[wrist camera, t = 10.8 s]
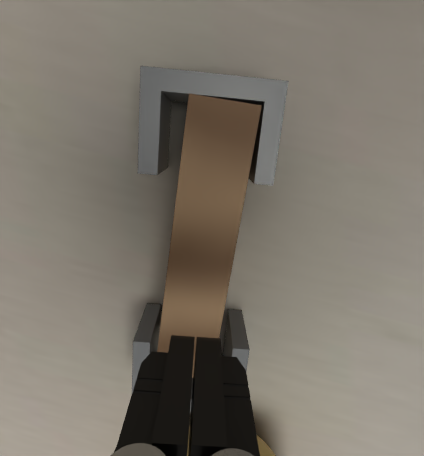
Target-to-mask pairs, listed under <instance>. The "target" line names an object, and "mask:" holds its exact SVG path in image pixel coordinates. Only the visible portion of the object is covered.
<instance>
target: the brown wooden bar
mask: <svg viewBox="0 0 424 456" xmlns="http://www.w3.org/2000/svg"><path fill="white" fill-rule="evenodd" d="M261 106H262V105H256V104H250V103H244V102H237V101H231V100H225V99H219V98H213V97H207V96H201V95H195V94H189V97H188V106H187V114H186V122H185V130H184V138H183V146H182V154H181V162H180V170H179V179H178V187H177V195H176V203H175V211H174V219H173V227H172V235H171V243H170V252H169V260H168V268H167V276H166V284H165V292H164V300H163V308H162V316H161V325H160V333H159V341H158V349H157V352H167V353H168V350H169V344H170V339H171V335H177V336H192V337H195V341H194V357H193V373H194V362H195V351H196V340H197V337H207V338H219V335H220V330H221V324H222V319H223V313H224V308H225V303H226V297H227V292H228V286H229V281H230V275H231V270H232V264H233V259H234V254H235V248H236V243H237V237H238V232H239V226H240V221H241V215H242V210H243V205H244V199H245V194H246V188H247V183H248V177H249V172H250V166H251V161H252V155H253V150H254V145H255V139H256V134H257V128H258V123H259V117H260V112H261ZM193 373H192V378H193Z"/></svg>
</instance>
